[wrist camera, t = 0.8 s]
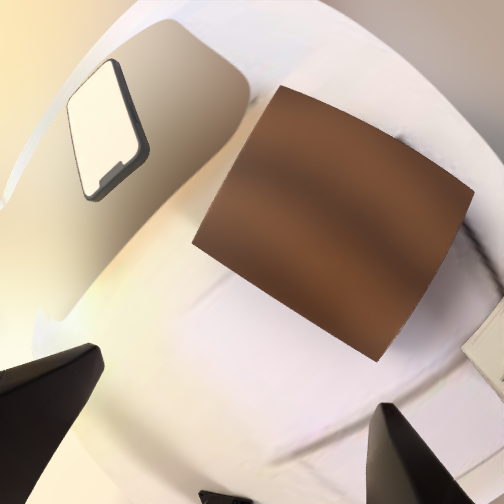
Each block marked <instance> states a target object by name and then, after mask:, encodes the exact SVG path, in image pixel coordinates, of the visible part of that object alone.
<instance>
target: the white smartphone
mask: <svg viewBox="0 0 504 504" xmlns="http://www.w3.org/2000/svg"><path fill="white" fill-rule="evenodd" d="M67 113H68V120H69V127H70V132H71V138H72V143H73V149H74V154H75V159H76V163H77V168H78V173H79V177H80V181H81V185H82V189H83V193H84V197H85V198H86V199H87V200H88V201H93V202H99V201H100V200H102V199H103V198H104V197H105V196H106V195H107V194H108V193H109V192H110V191H112V190H113V189H114V188H115V187H116V186H117V185H118V184H119V183H121V182H122V181H123V180H124V179H125V178H126V177H127V176H129V175H130V174H131V173H132V172H133V171H135V170H136V169H137V168H138V167H139V166H141V165H142V164H143V163H144V162H145V161H146V159H147V158H148V155H149V152H150V148H149V143H148V141H147V138H146V136H145V133H144V130H143V128H142V125H141V123H140V120H139V118H138V115H137V112H136V109H135V106H134V104H133V101H132V98H131V95H130V93H129V90H128V87H127V84H126V81H125V78H124V75H123V72H122V69H121V67H120V64H119V62H117V61H116V60H114V59H108V60H107V61H105V62H104V63H103V64H102V65H101V66H100V67H99V68H98V69H97V70H96V71H95V72H94V73H93V74H92V75H91V76H90V77H89V78H88V79H87V80H86V81H85V82H84V83H83V84H82V85H81V86H80V87H79V88H78V89H77V90H76V92H75V93H74V94H73V95H72V96H71V97H70V99H69V101H68V103H67Z"/></svg>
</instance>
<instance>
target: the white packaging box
mask: <svg viewBox="0 0 504 504" xmlns="http://www.w3.org/2000/svg"><path fill="white" fill-rule="evenodd" d="M461 349H462V351H463V352H464V353H465V355H466V356H467V357H468V358H469V359H470V361H471V362H472V363H473V364H474V366H475V367H476V368H477V370H478V371H479V372H480V373H481V375H482V376H483V377H484V378H485V380H486V381H487V382H488V384H489V385H490V386H491V387H492V389H493V390H494V391H495V392H496V394H497V395H498V396H499V397H500V399H501V400H502V401H503V403H504V297H503V298H502V299H501V301H500V302H499V304H498V305H497V306H496V308H495V309H494V310H493V312H492V313H491V314H490V315H489V316H488V318H487V319H486V320H485V321H484V323H483V324H482V325H481V326H480V327H479V328H478V330H477V331H476V332H475V333H474V334H473V335H472V336H471V337H470V338H469V339H468V340H467V341H466V343H465V344H464V345H463V346H462V347H461Z"/></svg>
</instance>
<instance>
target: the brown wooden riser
mask: <svg viewBox="0 0 504 504" xmlns="http://www.w3.org/2000/svg"><path fill="white" fill-rule="evenodd" d="M474 193H475V192H474V191H473V190H472V189H470V188H469V187H468V186H467V185H465V184H464V183H462V182H461V181H460V180H458V179H457V178H456V177H454V176H453V175H451V174H450V173H449V172H447V171H446V170H444V169H443V168H441V167H440V166H438V165H437V164H436V163H434V162H433V161H431V160H429V159H428V158H426V157H425V156H423V155H422V154H420V153H419V152H417V151H415V150H414V149H412V148H410V147H409V146H407V145H405V144H404V143H402V142H400V141H399V140H397V139H395V138H393V137H392V136H390V135H388V134H386V133H385V132H383V131H381V130H379V129H377V128H375V127H373V126H372V125H370V124H368V123H366V122H364V121H362V120H360V119H358V118H356V117H354V116H352V115H350V114H348V113H346V112H344V111H341V110H339V109H337V108H335V107H333V106H331V105H328V104H326V103H324V102H321V101H319V100H317V99H314V98H312V97H310V96H307V95H305V94H302V93H300V92H297V91H295V90H292V89H290V88H287V87H284V86H281V85H280V86H279V88H278V90H277V91H276V93H275V94H274V96H273V98H272V99H271V101H270V103H269V104H268V106H267V108H266V109H265V111H264V112H263V114H262V116H261V117H260V119H259V121H258V122H257V124H256V126H255V128H254V129H253V131H252V133H251V134H250V136H249V138H248V139H247V141H246V143H245V145H244V146H243V148H242V150H241V152H240V153H239V155H238V157H237V159H236V160H235V162H234V164H233V166H232V168H231V169H230V171H229V173H228V175H227V177H226V178H225V180H224V182H223V184H222V186H221V188H220V189H219V191H218V193H217V195H216V197H215V199H214V201H213V202H212V204H211V206H210V208H209V210H208V212H207V214H206V216H205V218H204V219H203V221H202V223H201V225H200V227H199V229H198V231H197V233H196V235H195V237H194V239H193V241H192V244H193V245H195V246H196V247H198V248H199V249H201V250H202V251H204V252H205V253H207V254H208V255H210V256H211V257H213V258H214V259H216V260H217V261H218V262H220V263H221V264H223V265H224V266H226V267H227V268H229V269H230V270H232V271H234V272H235V273H237V274H238V275H240V276H241V277H243V278H244V279H246V280H247V281H249V282H250V283H252V284H253V285H255V286H256V287H258V288H259V289H261V290H262V291H264V292H265V293H267V294H269V295H270V296H272V297H273V298H275V299H276V300H278V301H279V302H281V303H282V304H284V305H286V306H287V307H289V308H290V309H292V310H293V311H295V312H296V313H298V314H300V315H301V316H303V317H304V318H306V319H307V320H309V321H311V322H312V323H314V324H315V325H317V326H319V327H320V328H322V329H323V330H325V331H326V332H328V333H330V334H331V335H333V336H334V337H336V338H338V339H339V340H341V341H343V342H344V343H346V344H347V345H349V346H351V347H352V348H354V349H355V350H357V351H359V352H360V353H362V354H364V355H365V356H367V357H369V358H370V359H372V360H373V361H375V362H378V361H379V359H380V358H381V357H382V355H383V354H384V353H385V351H386V350H387V349H388V347H389V346H390V345H391V343H392V342H393V340H394V339H395V338H396V336H397V335H398V333H399V332H400V330H401V329H402V328H403V326H404V325H405V323H406V322H407V320H408V319H409V317H410V316H411V314H412V312H413V311H414V309H415V308H416V306H417V305H418V303H419V301H420V300H421V298H422V297H423V295H424V293H425V292H426V290H427V288H428V287H429V285H430V283H431V281H432V280H433V278H434V276H435V274H436V273H437V271H438V269H439V267H440V265H441V264H442V262H443V260H444V258H445V256H446V254H447V252H448V250H449V248H450V246H451V244H452V242H453V240H454V238H455V236H456V234H457V232H458V230H459V228H460V226H461V223H462V221H463V219H464V217H465V214H466V212H467V210H468V208H469V205H470V203H471V200H472V198H473V196H474Z"/></svg>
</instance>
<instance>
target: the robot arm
mask: <svg viewBox="0 0 504 504" xmlns="http://www.w3.org/2000/svg"><path fill="white" fill-rule="evenodd" d="M103 371H104V361H103V357H102V354H101V350H100V348H99V347H98V346H97V345H94V344H91V343H87V344H84V345H81V346H78V347H75V348H72V349H69V350H66V351H63V352H60V353H57V354H54V355H51V356H48V357H44V358H41V359H38V360H35V361H32V362H29V363H26V364H22V365H19V366H16V367H13V368H10V369H6V370H3V371H0V504H25V503H26V501H27V499H28V497H29V495H30V494H31V492H32V490H33V488H34V486H35V485H36V483H37V481H38V479H39V478H40V476H41V474H42V473H43V471H44V469H45V468H46V466H47V464H48V463H49V461H50V459H51V458H52V456H53V454H54V452H55V451H56V450H57V448H58V446H59V445H60V443H61V441H62V440H63V438H64V437H65V435H66V434H67V432H68V430H69V429H70V427H71V426H72V424H73V423H74V421H75V420H76V418H77V417H78V415H79V414H80V412H81V411H82V409H83V407H84V406H85V404H86V403H87V401H88V399H89V397H90V395H91V393H92V391H93V390H94V388H95V386H96V384H97V382H98V380H99V378H100V376H101V374H102V373H103ZM198 494H199V497H200V500H201V502H202V504H253V501H252V500H250V499H244V498H238V497H232V496H226V495H221V494H216V493H211V492H207V491H202V490H201V491H200V492H199V493H198ZM366 504H475V503H474V502H473V501H472V500H471V499H470V498H469V496H468V495H467V494H466V493H465V492H464V491H463V489H462V488H461V487H460V486H459V484H458V483H457V482H456V481H455V480H454V478H453V477H452V476H451V474H450V473H449V472H448V471H447V469H446V468H445V467H444V466H443V464H442V463H441V462H440V461H439V459H438V458H437V457H436V456H435V454H434V453H433V452H432V451H431V449H430V448H429V447H428V446H427V444H426V443H425V442H424V441H423V439H422V438H421V437H420V436H419V434H418V433H417V432H416V431H415V429H414V428H413V427H412V426H411V424H410V423H409V422H408V421H407V420H406V418H405V417H404V416H403V415H402V413H401V412H400V411H399V410H398V408H397V407H396V406H395V405H394V404H393V403H379V404H378V406H377V408H376V410H375V412H374V414H373V416H372V418H371V420H370V424H369V436H368V451H367V463H366Z"/></svg>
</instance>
